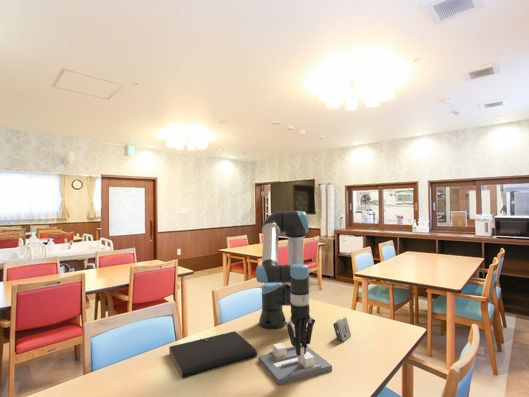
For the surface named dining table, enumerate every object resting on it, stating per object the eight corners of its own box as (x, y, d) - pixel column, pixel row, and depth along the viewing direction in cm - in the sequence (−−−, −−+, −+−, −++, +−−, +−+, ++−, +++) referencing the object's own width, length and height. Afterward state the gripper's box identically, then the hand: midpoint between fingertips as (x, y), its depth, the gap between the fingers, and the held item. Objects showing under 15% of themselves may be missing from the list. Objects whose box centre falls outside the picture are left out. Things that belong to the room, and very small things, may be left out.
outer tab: (299, 363, 124) (299, 353, 124) (308, 361, 126) (307, 351, 126) (306, 369, 120) (305, 359, 120) (314, 366, 121) (314, 356, 121)
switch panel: (258, 360, 131) (258, 353, 132) (306, 349, 141) (306, 343, 141) (278, 385, 113) (278, 377, 113) (332, 370, 123) (331, 362, 123)
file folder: (234, 330, 156) (257, 349, 135) (234, 338, 156) (257, 359, 135) (169, 345, 139) (182, 370, 118) (169, 354, 139) (182, 381, 118)
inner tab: (273, 353, 133) (272, 344, 133) (281, 351, 134) (281, 342, 134) (278, 359, 128) (277, 349, 128) (286, 357, 130) (286, 347, 130)
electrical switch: (343, 342, 148) (341, 322, 149) (334, 340, 151) (331, 321, 152) (351, 336, 155) (349, 317, 156) (342, 334, 158) (340, 316, 159)
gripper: (290, 308, 116) (291, 371, 116) (318, 303, 122) (320, 363, 121) (281, 303, 123) (282, 361, 123) (308, 298, 128) (310, 355, 128)
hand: (301, 362), depth 122 cm, fingers closed
